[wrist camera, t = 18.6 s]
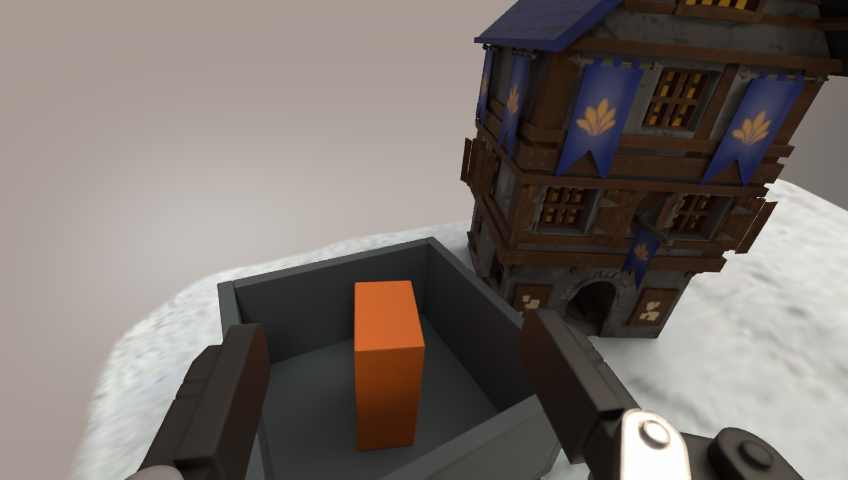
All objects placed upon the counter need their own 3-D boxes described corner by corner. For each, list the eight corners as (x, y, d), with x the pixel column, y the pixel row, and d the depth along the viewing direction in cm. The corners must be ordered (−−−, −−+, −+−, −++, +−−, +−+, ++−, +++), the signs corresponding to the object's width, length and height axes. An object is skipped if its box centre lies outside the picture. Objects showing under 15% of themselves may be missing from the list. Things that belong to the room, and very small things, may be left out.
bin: (425, 312, 31) (433, 235, 27) (551, 470, 20) (594, 381, 16) (241, 373, 24) (217, 283, 20) (284, 659, 13) (248, 584, 10)
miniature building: (470, 379, 25) (618, -314, 10) (442, 234, 43) (480, -90, 28) (716, 381, 27) (1166, -217, 12) (590, 240, 45) (700, -64, 30)
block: (404, 372, 24) (411, 279, 20) (414, 445, 20) (425, 345, 16) (357, 376, 24) (354, 282, 20) (357, 452, 19) (353, 350, 15)
